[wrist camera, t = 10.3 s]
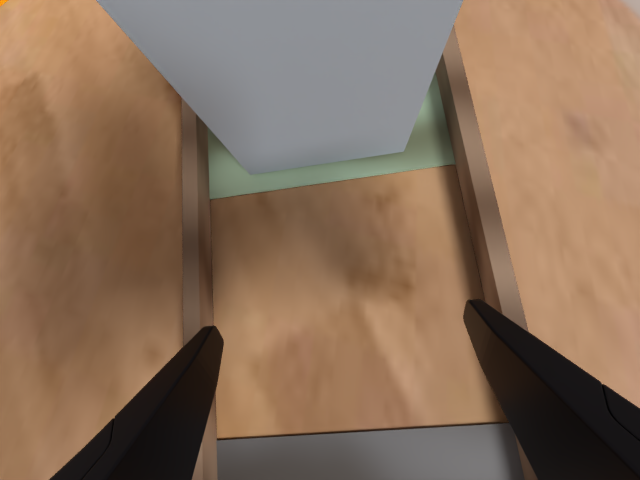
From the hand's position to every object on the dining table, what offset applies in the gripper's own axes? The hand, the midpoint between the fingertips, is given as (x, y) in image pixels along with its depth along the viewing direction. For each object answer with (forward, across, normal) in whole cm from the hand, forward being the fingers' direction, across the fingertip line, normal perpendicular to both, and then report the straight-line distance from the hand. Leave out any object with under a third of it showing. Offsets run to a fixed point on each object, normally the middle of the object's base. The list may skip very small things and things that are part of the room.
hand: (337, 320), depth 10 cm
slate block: (+13, 0, -4) cm, 14 cm away
